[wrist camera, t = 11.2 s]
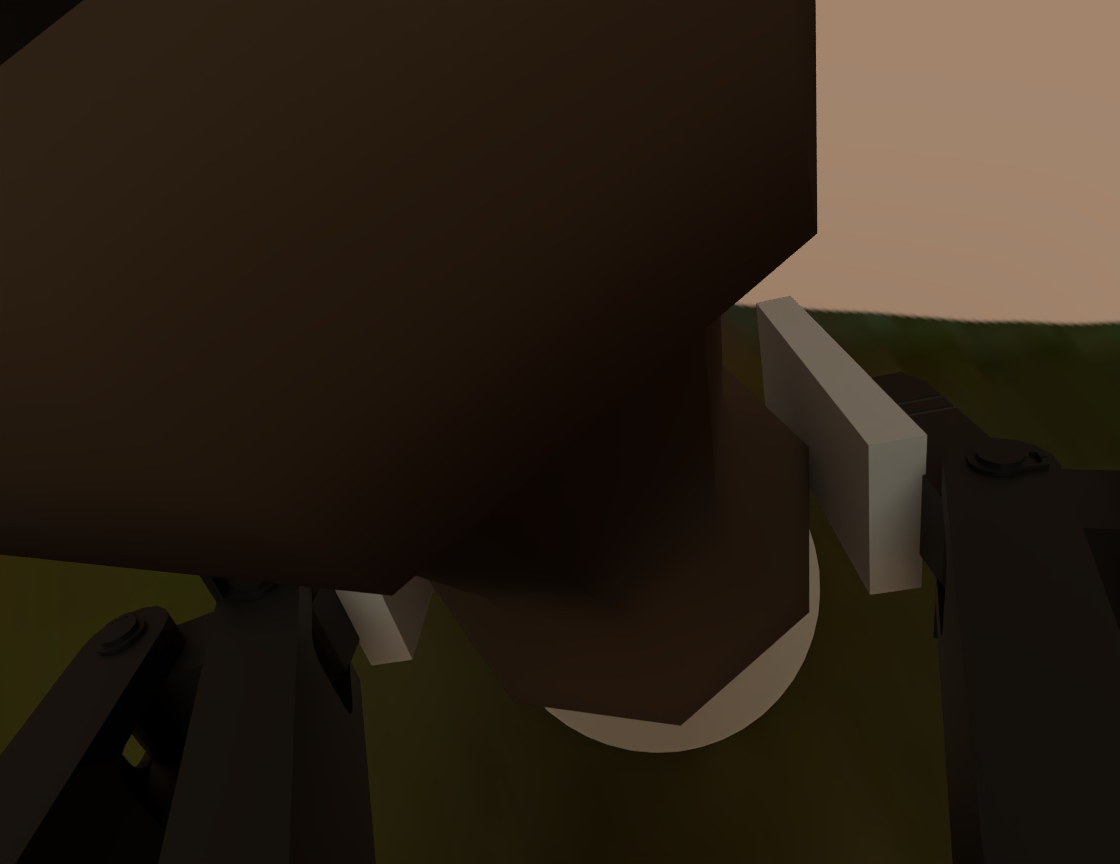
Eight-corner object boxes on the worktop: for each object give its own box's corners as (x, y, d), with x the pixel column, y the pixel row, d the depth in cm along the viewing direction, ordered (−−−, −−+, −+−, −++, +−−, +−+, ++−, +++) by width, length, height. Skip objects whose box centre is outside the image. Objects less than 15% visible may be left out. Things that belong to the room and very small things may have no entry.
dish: (442, 551, 35) (429, 547, 33) (665, 370, 36) (664, 356, 34) (627, 818, 30) (623, 831, 28) (885, 601, 31) (898, 600, 29)
